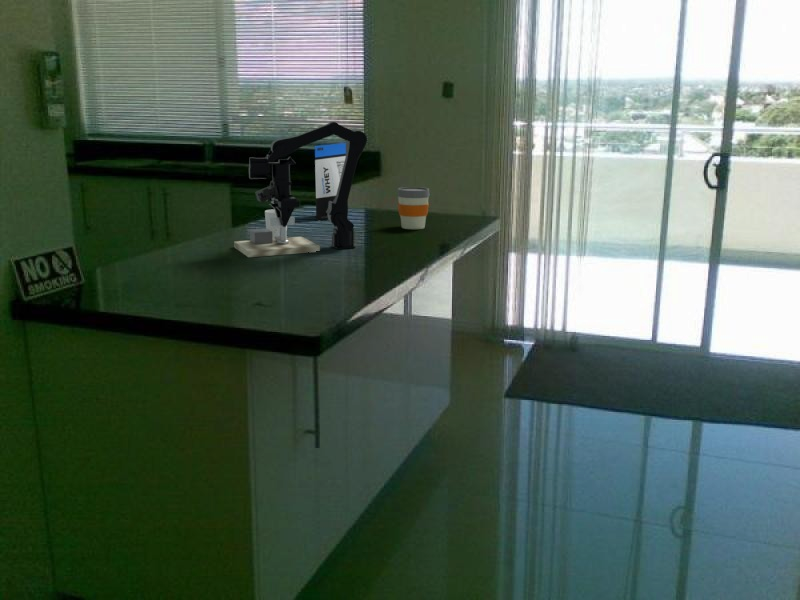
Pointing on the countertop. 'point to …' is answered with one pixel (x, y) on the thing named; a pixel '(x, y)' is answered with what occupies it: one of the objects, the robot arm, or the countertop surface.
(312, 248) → the panel
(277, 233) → the white cup
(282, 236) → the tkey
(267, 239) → the cover
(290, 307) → the countertop surface
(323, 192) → the protein powder
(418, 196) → the reusable coffee cup
